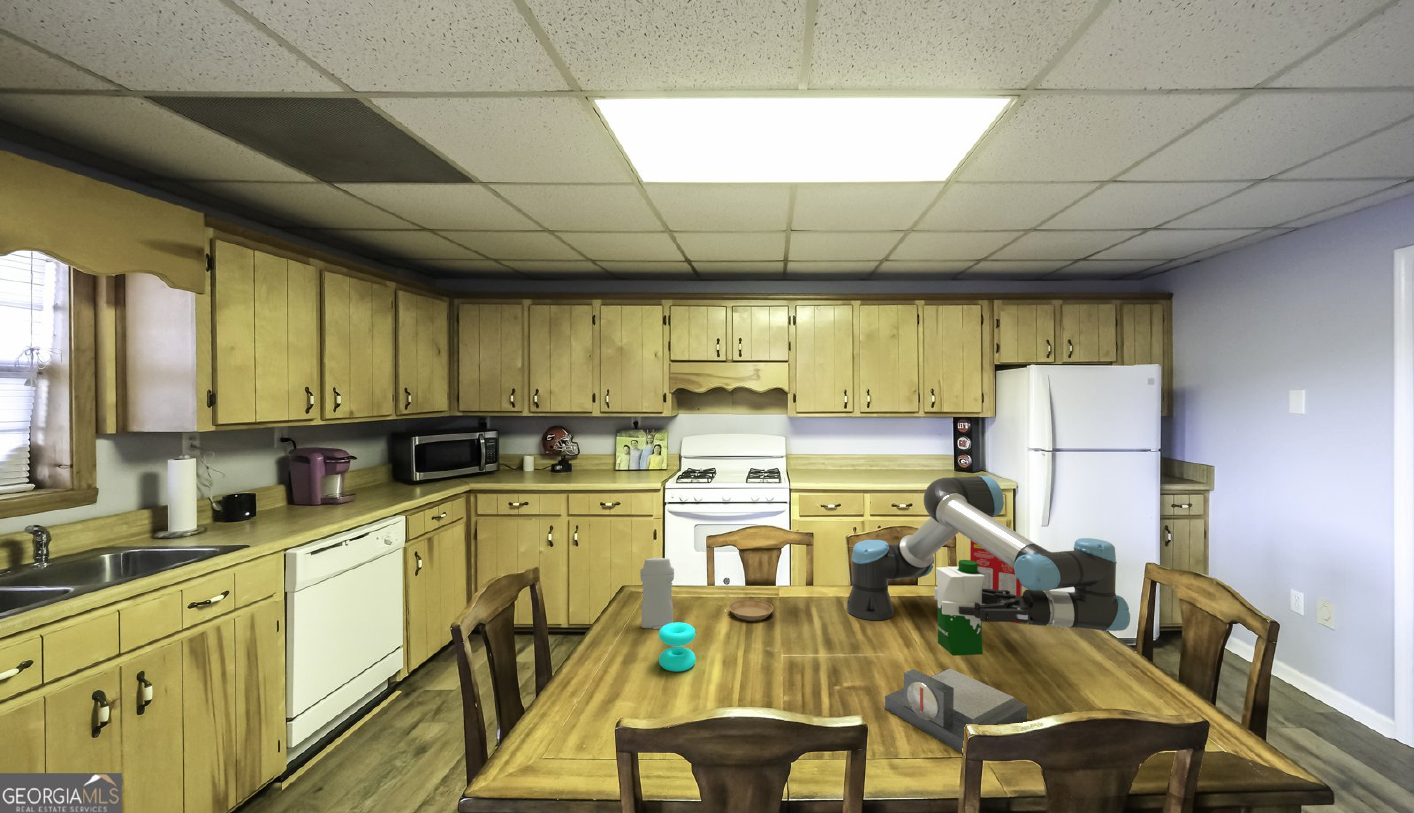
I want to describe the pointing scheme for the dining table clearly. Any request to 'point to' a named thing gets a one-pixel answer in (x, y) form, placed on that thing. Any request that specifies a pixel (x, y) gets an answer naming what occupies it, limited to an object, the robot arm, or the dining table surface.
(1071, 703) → the dining table surface
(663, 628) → the donuts
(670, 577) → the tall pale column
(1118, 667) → the dining table surface
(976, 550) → the food packaging
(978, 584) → the soya milk
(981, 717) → the scale
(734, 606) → the plant saucer
